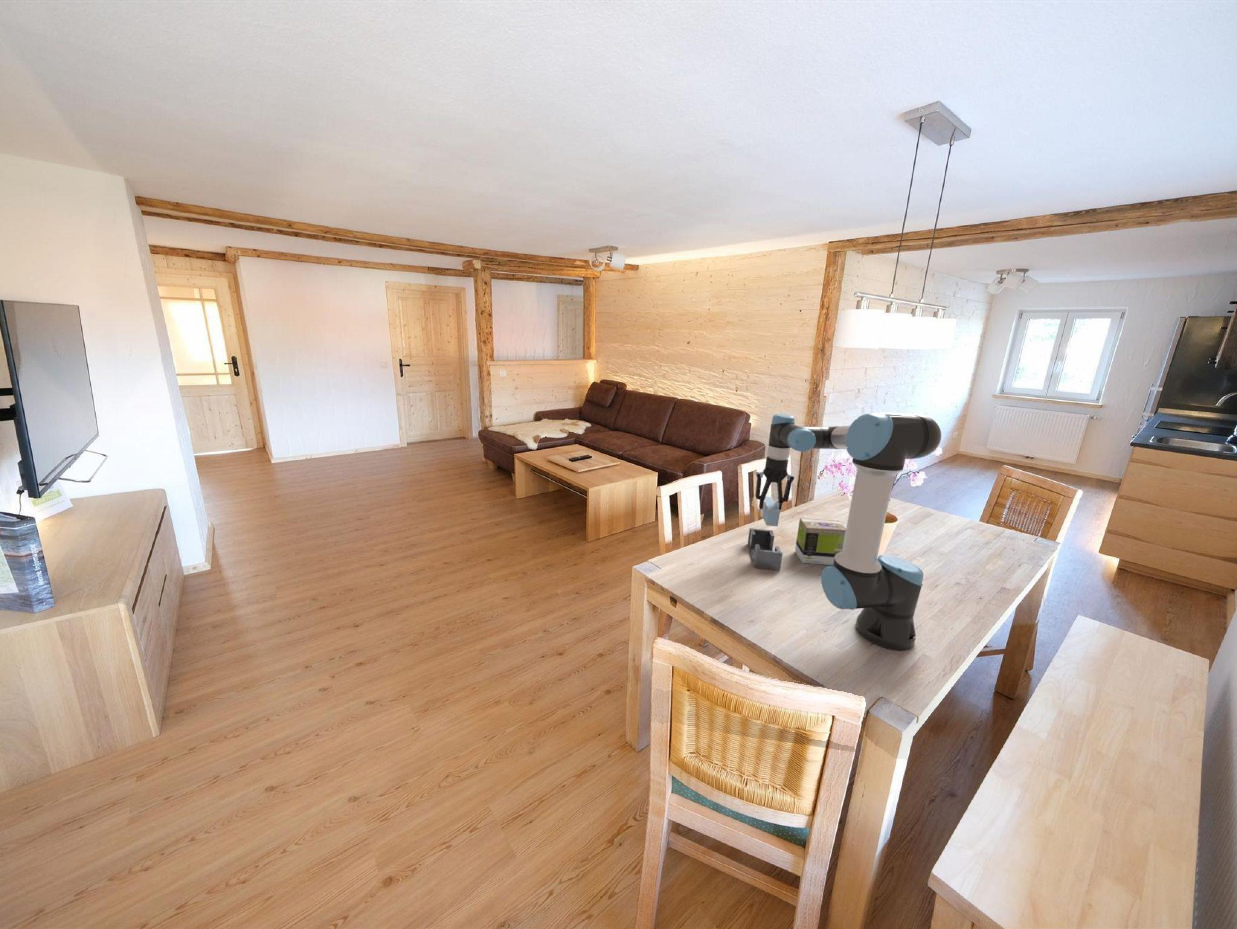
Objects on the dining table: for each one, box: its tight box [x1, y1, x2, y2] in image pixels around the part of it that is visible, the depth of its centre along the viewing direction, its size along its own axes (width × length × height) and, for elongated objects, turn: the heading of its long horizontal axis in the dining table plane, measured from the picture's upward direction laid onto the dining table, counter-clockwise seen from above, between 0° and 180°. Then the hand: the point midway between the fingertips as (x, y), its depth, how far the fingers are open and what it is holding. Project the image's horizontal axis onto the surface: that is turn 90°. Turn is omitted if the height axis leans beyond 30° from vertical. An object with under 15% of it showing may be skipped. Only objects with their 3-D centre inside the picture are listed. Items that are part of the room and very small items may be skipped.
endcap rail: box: [747, 527, 783, 572], centre depth 179 cm, size 20×9×7 cm, turn 172°
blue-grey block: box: [759, 496, 781, 527], centre depth 175 cm, size 14×4×6 cm, turn 174°
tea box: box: [794, 517, 846, 566], centre depth 178 cm, size 15×10×15 cm
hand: (768, 517), depth 175 cm, fingers closed on blue-grey block, 4 cm apart
